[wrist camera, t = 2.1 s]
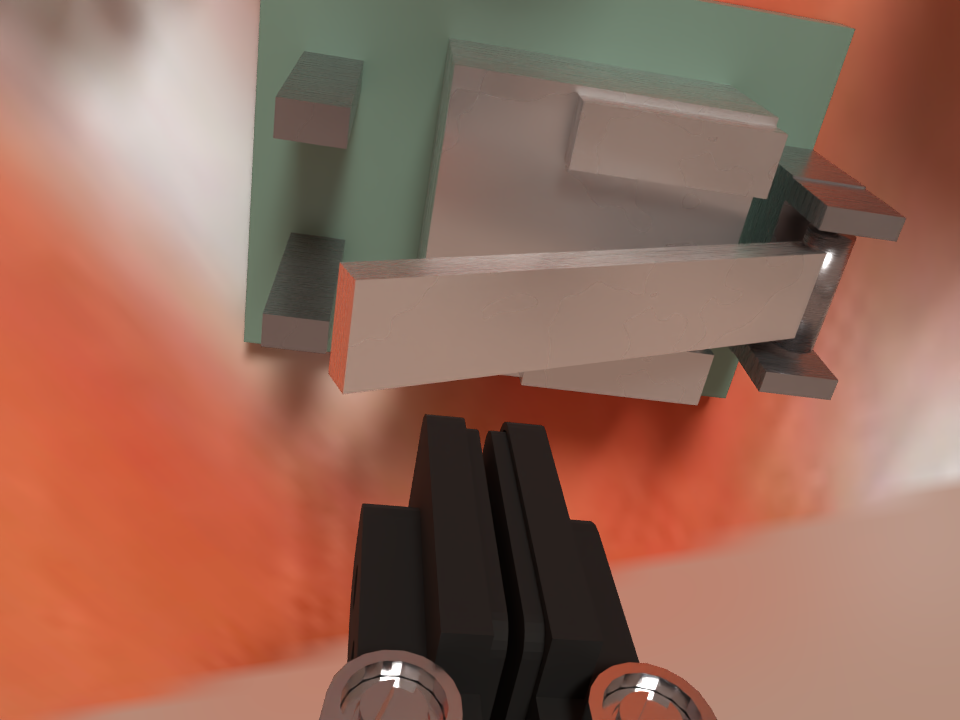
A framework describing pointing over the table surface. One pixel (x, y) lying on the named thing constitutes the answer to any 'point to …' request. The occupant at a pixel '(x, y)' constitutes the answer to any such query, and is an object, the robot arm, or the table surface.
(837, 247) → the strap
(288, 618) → the table surface
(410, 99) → the board
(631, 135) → the grey block frame
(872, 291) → the table surface
